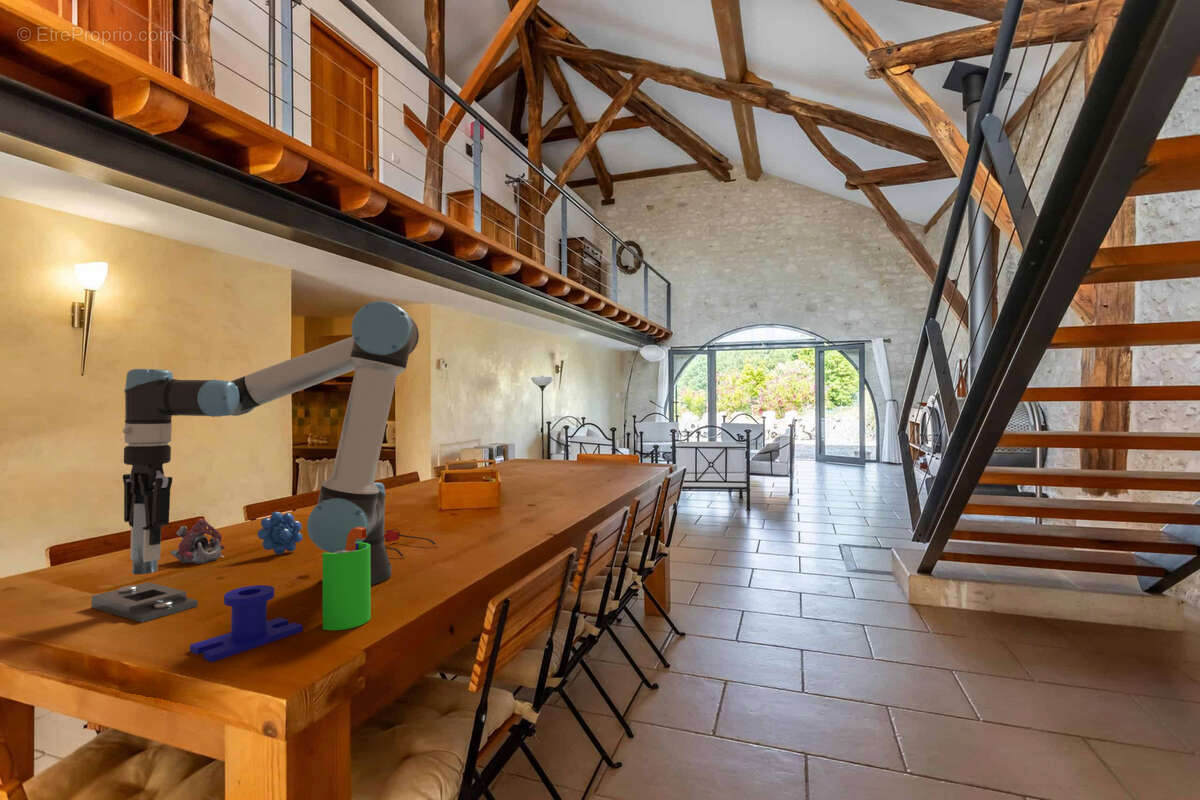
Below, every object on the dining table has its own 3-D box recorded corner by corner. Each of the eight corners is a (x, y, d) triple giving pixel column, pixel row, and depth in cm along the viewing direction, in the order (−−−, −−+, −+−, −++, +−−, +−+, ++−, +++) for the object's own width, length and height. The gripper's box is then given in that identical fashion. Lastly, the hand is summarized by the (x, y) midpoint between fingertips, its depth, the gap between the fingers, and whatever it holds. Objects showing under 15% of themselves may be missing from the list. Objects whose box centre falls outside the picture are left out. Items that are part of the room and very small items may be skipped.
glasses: (397, 542, 172) (397, 526, 172) (439, 549, 165) (439, 531, 165) (360, 553, 159) (360, 535, 159) (404, 560, 152) (404, 542, 152)
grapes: (263, 561, 149) (264, 516, 149) (253, 556, 153) (254, 512, 153) (308, 552, 158) (309, 510, 158) (298, 548, 162) (299, 507, 162)
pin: (161, 570, 116) (163, 502, 116) (138, 575, 112) (140, 505, 112) (150, 567, 117) (152, 500, 118) (128, 572, 114) (129, 503, 114)
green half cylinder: (335, 612, 112) (336, 522, 113) (376, 612, 113) (378, 522, 113) (316, 631, 103) (317, 532, 103) (361, 629, 104) (362, 532, 104)
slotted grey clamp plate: (197, 606, 115) (197, 591, 115) (140, 622, 106) (141, 606, 106) (148, 593, 123) (148, 579, 123) (91, 607, 114) (91, 592, 114)
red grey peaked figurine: (198, 558, 142) (178, 519, 144) (172, 581, 145) (153, 542, 147) (239, 548, 153) (220, 511, 155) (215, 570, 155) (196, 533, 158)
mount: (211, 663, 90) (212, 608, 91) (189, 652, 94) (191, 599, 95) (302, 632, 103) (303, 584, 103) (280, 623, 107) (281, 577, 107)
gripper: (103, 443, 115) (100, 558, 115) (150, 447, 108) (147, 569, 108) (145, 442, 122) (143, 549, 122) (192, 445, 115) (189, 559, 115)
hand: (145, 558), depth 115 cm, fingers closed on pin, 4 cm apart
